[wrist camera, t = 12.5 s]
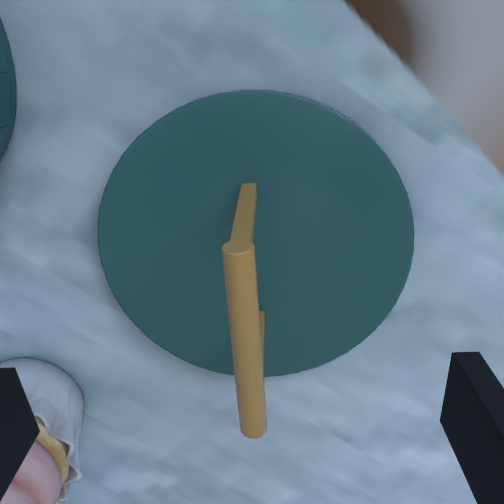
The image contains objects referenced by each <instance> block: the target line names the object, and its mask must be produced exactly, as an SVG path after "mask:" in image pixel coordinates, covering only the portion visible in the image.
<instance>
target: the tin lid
mask: <svg viewBox="0 0 504 504" xmlns="http://www.w3.org/2000/svg"><path fill="white" fill-rule="evenodd" d="M98 246H99V252H100V258H101V263H102V266H103V269H104V273H105V276H106V279H107V281H108V284H109V286H110V288H111V290H112V292H113V294H114V296H115V298H116V299H117V301H118V303H119V304H120V306H121V307H122V309H123V310H124V312H125V313H126V314H127V315H128V317H129V318H130V319H131V320H132V322H133V323H134V324H135V325H136V326H137V327H138V328H139V329H140V330H141V331H142V332H143V333H144V334H145V335H146V336H147V337H148V338H150V339H151V340H152V341H154V342H155V343H156V344H158V345H159V346H160V347H162V348H163V349H165V350H166V351H168V352H170V353H171V354H173V355H175V356H176V357H178V358H180V359H183V360H185V361H187V362H189V363H191V364H193V365H196V366H199V367H202V368H205V369H208V370H211V371H215V372H220V373H224V374H229V375H235V383H236V392H237V401H238V411H239V420H240V429H241V432H242V434H243V435H244V436H246V437H248V438H258V437H261V436H262V435H263V434H264V433H265V432H266V429H267V420H266V406H265V391H264V377H269V376H281V375H287V374H293V373H298V372H301V371H305V370H308V369H312V368H315V367H318V366H320V365H323V364H325V363H327V362H330V361H332V360H334V359H336V358H338V357H339V356H341V355H343V354H345V353H347V352H348V351H350V350H351V349H352V348H354V347H355V346H357V345H358V344H360V343H361V342H362V341H363V340H364V339H366V338H367V337H368V336H369V335H370V334H371V333H372V332H374V331H375V329H376V328H377V327H378V326H379V325H380V324H381V323H382V321H383V320H384V319H385V318H386V317H387V315H388V314H389V312H390V311H391V309H392V308H393V306H394V305H395V304H396V302H397V300H398V298H399V296H400V294H401V292H402V290H403V288H404V285H405V282H406V280H407V277H408V274H409V271H410V267H411V261H412V256H413V251H414V225H413V216H412V210H411V206H410V203H409V199H408V195H407V192H406V190H405V187H404V185H403V183H402V181H401V178H400V176H399V174H398V172H397V171H396V169H395V167H394V166H393V164H392V163H391V161H390V159H389V158H388V156H387V155H386V154H385V153H384V152H383V150H382V149H381V148H380V147H379V146H378V145H377V143H376V142H375V141H374V140H373V139H372V138H371V137H370V136H369V135H368V134H367V133H366V132H364V131H363V130H362V129H361V128H360V127H359V126H357V125H356V124H355V123H354V122H353V121H351V120H349V119H348V118H346V117H345V116H343V115H342V114H340V113H338V112H337V111H335V110H333V109H331V108H329V107H327V106H325V105H322V104H320V103H318V102H316V101H314V100H310V99H307V98H303V97H300V96H297V95H293V94H289V93H282V92H276V91H269V90H240V91H232V92H225V93H219V94H215V95H211V96H208V97H204V98H201V99H197V100H195V101H193V102H190V103H188V104H186V105H184V106H181V107H179V108H177V109H175V110H173V111H172V112H170V113H169V114H167V115H165V116H164V117H162V118H161V119H159V120H157V121H156V122H155V123H154V124H152V125H151V126H150V127H149V128H148V129H147V130H145V131H144V132H143V133H142V134H141V135H140V136H138V137H137V139H136V140H135V141H134V142H133V143H132V144H131V146H130V147H129V148H128V149H127V150H126V151H125V152H124V154H123V155H122V157H121V159H120V160H119V162H118V163H117V165H116V166H115V168H114V170H113V172H112V174H111V176H110V178H109V181H108V183H107V185H106V187H105V191H104V194H103V198H102V201H101V205H100V211H99V220H98Z"/></svg>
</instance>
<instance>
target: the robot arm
mask: <svg viewBox="0 0 504 504" xmlns="http://www.w3.org/2000/svg"><path fill="white" fill-rule="evenodd" d="M440 422H441V424H442V426H443V429H444V431H445V433H446V435H447V438H448V440H449V442H450V444H451V446H452V449H453V451H454V453H455V455H456V457H457V460H458V462H459V464H460V466H461V468H462V471H463V473H464V475H465V477H466V479H467V482H468V484H469V486H470V488H471V490H472V493H473V495H474V497H475V499H476V502H477V504H504V388H503V387H502V385H501V384H500V382H499V381H498V379H497V378H496V376H495V375H494V373H493V372H492V370H491V369H490V367H489V366H488V364H487V363H486V361H485V360H484V358H483V357H482V355H481V354H480V353H479V352H455V353H452V356H451V361H450V367H449V372H448V378H447V384H446V389H445V395H444V401H443V406H442V412H441V417H440ZM39 432H40V429H39V427H38V424H37V422H36V419H35V417H34V414H33V412H32V409H31V406H30V404H29V401H28V399H27V396H26V394H25V391H24V389H23V386H22V384H21V381H20V379H19V376H18V374H17V371H16V368H15V367H8V368H0V502H1V500H2V498H3V496H4V495H5V493H6V491H7V489H8V488H9V486H10V484H11V482H12V480H13V479H14V477H15V475H16V473H17V472H18V470H19V468H20V466H21V464H22V463H23V461H24V459H25V457H26V455H27V454H28V452H29V450H30V448H31V447H32V445H33V443H34V441H35V439H36V438H37V436H38V434H39Z"/></svg>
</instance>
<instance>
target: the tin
mask: <svg viewBox="0 0 504 504" xmlns="http://www.w3.org/2000/svg"><path fill="white" fill-rule="evenodd" d="M15 113H16V80H15V71H14V64H13V59H12V55H11V50H10V46H9V42H8V39H7V36H6V33H5V30H4V27H3V24H2V21H1V18H0V160H1V159H2V157H3V155H4V153H5V151H6V149H7V146H8V143H9V140H10V137H11V134H12V131H13V125H14V119H15Z"/></svg>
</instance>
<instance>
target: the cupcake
mask: <svg viewBox="0 0 504 504" xmlns="http://www.w3.org/2000/svg"><path fill="white" fill-rule="evenodd" d="M8 367H15V368H16V371H17V374H18V376H19V379H20V381H21V384H22V386H23V389H24V391H25V394H26V396H27V399H28V401H29V404H30V406H31V409H32V412H33V414H34V417H35V419H36V422H37V424H38V427H39V429H40V432H39V434H38V436H37V438H36V439H35V441H34V443H33V445H32V447H31V448H30V450H29V452H28V454H27V455H26V457H25V459H24V461H23V463H22V464H21V466H20V468H19V470H18V472H17V473H16V475H15V477H14V479H13V480H12V482H11V484H10V486H9V488H8V489H7V491H6V493H5V495H4V496H3V498H2V500H1V502H0V504H55V503H56V501H65V500H68V498H69V484H70V483H72V482H74V481H76V480H79V479H80V478H81V477H82V469H81V462H80V455H79V448H78V446H79V438H80V431H81V424H82V419H83V414H84V398H83V394H82V392H81V390H80V388H79V386H78V385H77V383H76V382H75V380H74V379H73V378H72V377H71V376H70V375H68V374H67V373H66V372H65V371H63V370H62V369H60V368H59V367H57V366H55V365H53V364H51V363H48V362H45V361H42V360H38V359H33V358H25V357H24V358H15V359H10V360H7V361H4V362H1V363H0V368H8Z"/></svg>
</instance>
